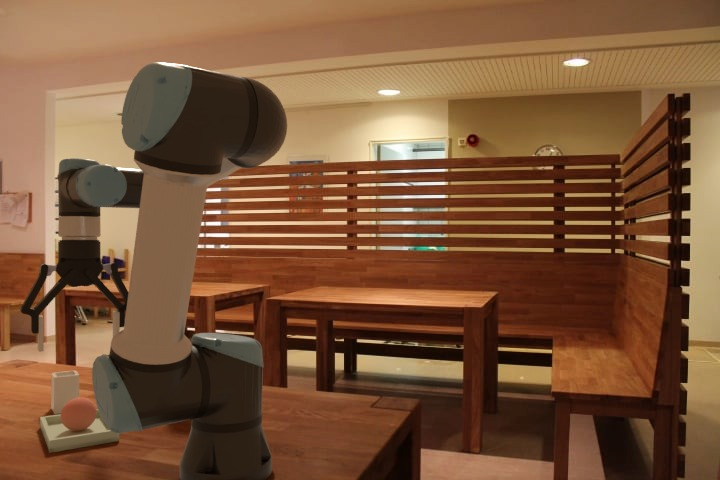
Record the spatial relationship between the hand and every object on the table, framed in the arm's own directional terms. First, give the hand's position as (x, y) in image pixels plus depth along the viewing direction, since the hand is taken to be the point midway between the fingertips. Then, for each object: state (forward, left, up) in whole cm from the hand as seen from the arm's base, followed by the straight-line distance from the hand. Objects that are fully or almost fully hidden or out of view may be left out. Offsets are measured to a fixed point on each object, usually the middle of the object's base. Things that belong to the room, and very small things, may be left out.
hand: (79, 347), depth 120 cm
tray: (0, 0, -17) cm, 17 cm away
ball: (0, 0, -13) cm, 13 cm away
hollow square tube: (+19, 0, -17) cm, 26 cm away
